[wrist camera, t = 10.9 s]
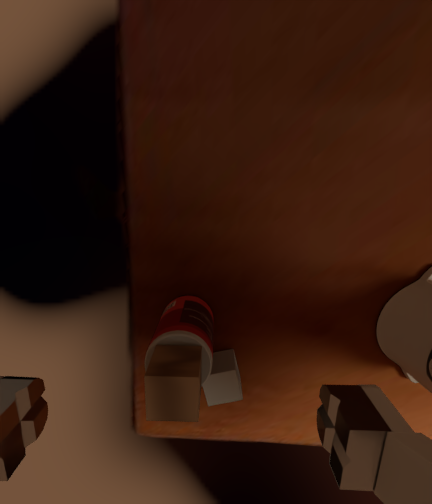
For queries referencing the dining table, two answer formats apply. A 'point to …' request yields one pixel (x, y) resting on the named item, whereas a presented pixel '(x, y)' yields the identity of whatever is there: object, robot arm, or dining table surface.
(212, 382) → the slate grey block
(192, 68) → the dining table surface
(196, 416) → the walnut block
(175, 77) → the dining table surface
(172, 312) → the canned food
